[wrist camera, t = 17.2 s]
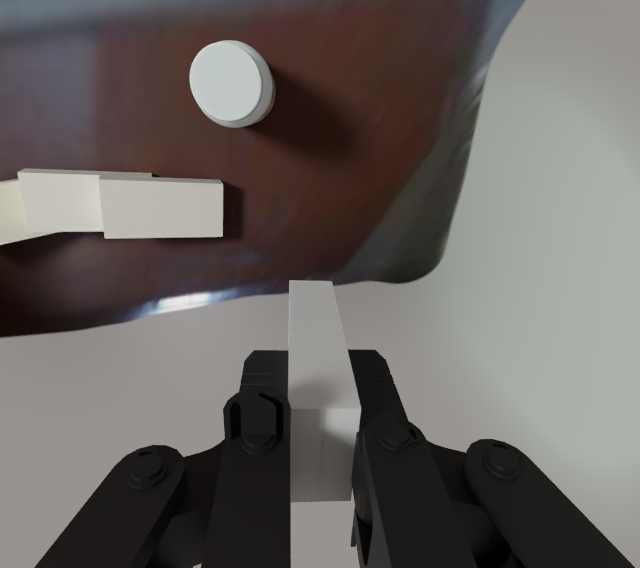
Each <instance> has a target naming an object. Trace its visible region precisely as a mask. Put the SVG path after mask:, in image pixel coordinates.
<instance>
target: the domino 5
mask: <svg viewBox="0 0 640 568" xmlns="http://www.w3.org/2000/svg"><path fill="white" fill-rule="evenodd" d="M98 184H99V193H100V201H101V210H102V219H103V228H104V237H105V239H112V238H181V237H223V183H222V182H221V181H220V180H211V179H185V178H159V177H133V176H108V175H100V177H99V179H98Z"/></svg>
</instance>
